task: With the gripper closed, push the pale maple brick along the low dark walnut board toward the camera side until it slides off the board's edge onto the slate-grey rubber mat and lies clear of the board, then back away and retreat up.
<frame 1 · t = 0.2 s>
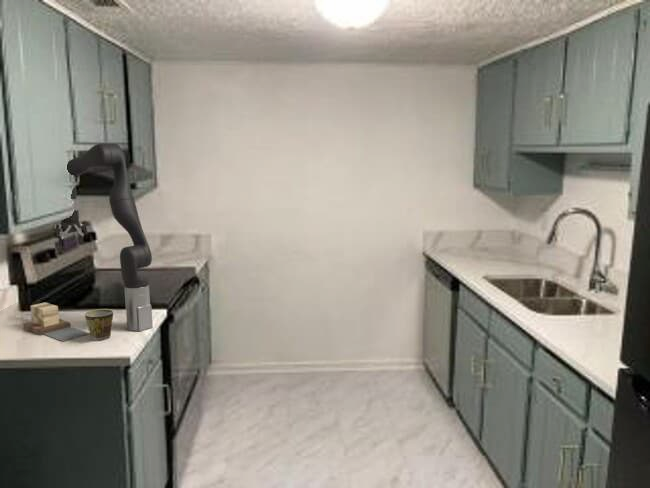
hand: (71, 246, 242), 29 cm above the worktop, fingers open, 8 cm apart
brown flat slab: (47, 327, 222), on the worktop
mat: (66, 334, 214), on the worktop
ceramic cup: (100, 339, 208), on the worktop
block: (45, 322, 222), point 2 cm above the worktop, touching brown flat slab
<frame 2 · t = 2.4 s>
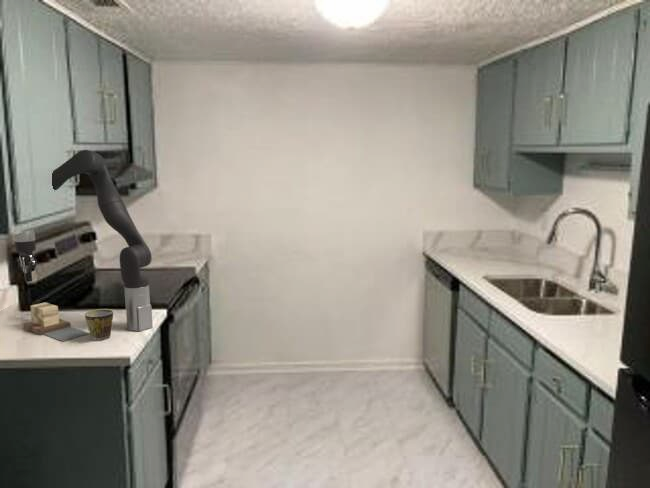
hand: (28, 281, 226), 18 cm above the worktop, fingers closed
nothing on the worktop moved.
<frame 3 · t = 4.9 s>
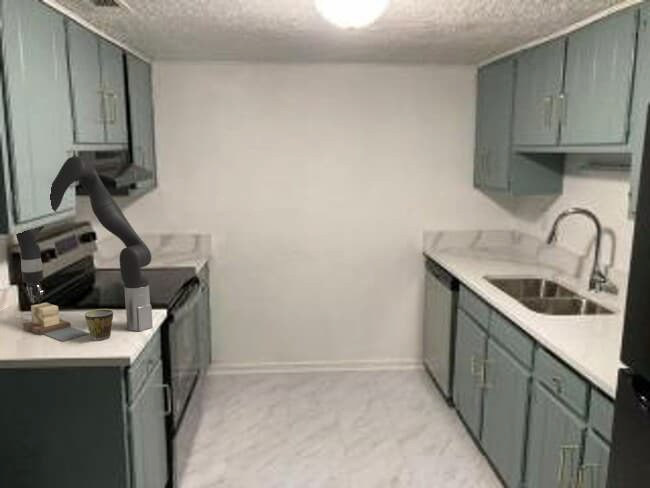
hand: (36, 310, 225), 6 cm above the worktop, fingers closed
block: (45, 322, 222), point 2 cm above the worktop, touching brown flat slab, gripper
everything else where it was.
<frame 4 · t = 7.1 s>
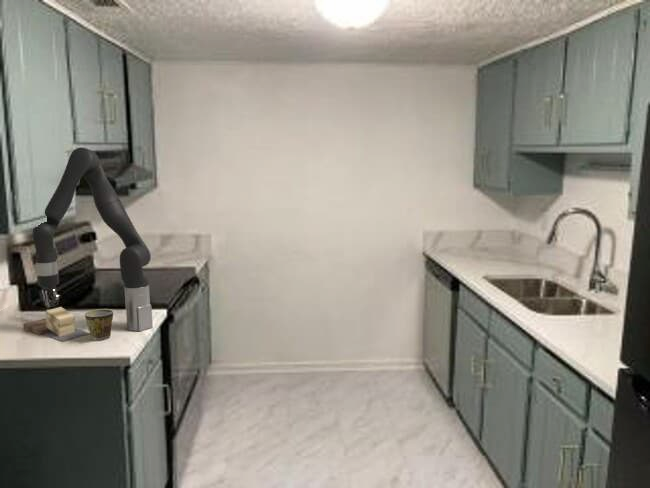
hand: (51, 315, 218), 6 cm above the worktop, fingers closed
block: (60, 329, 215), point 1 cm above the worktop, tilted 12°, touching gripper, mat
everything else where it was.
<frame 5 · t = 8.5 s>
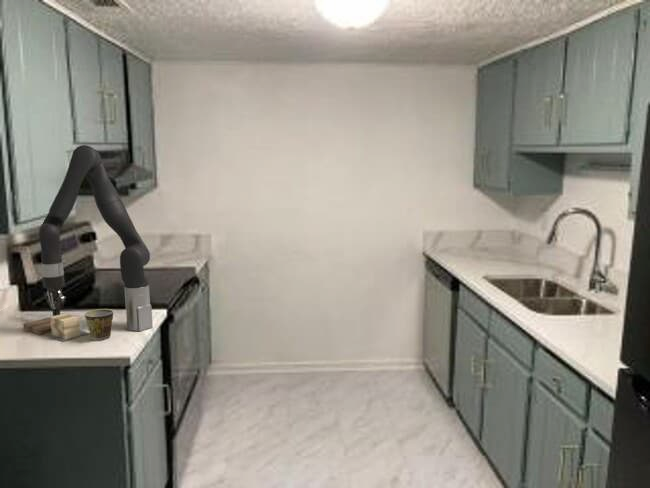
hand: (56, 317, 215), 6 cm above the worktop, fingers closed
block: (65, 334, 212), resting on mat, touching gripper
everything else where it was.
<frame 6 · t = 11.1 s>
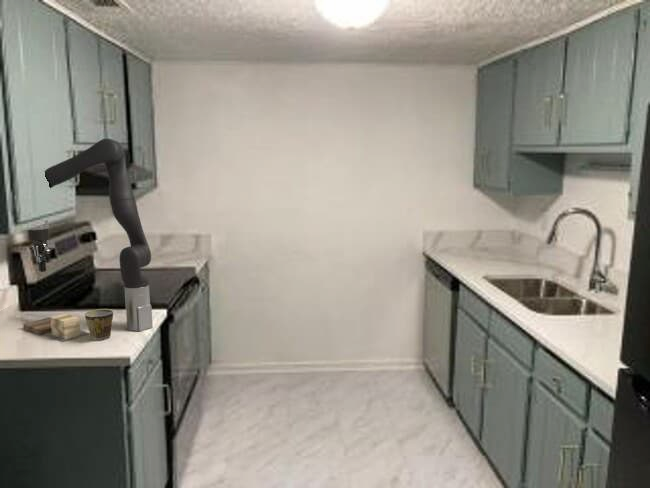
hand: (42, 271, 217), 23 cm above the worktop, fingers closed
block: (66, 334, 212), resting on mat
everything else where it was.
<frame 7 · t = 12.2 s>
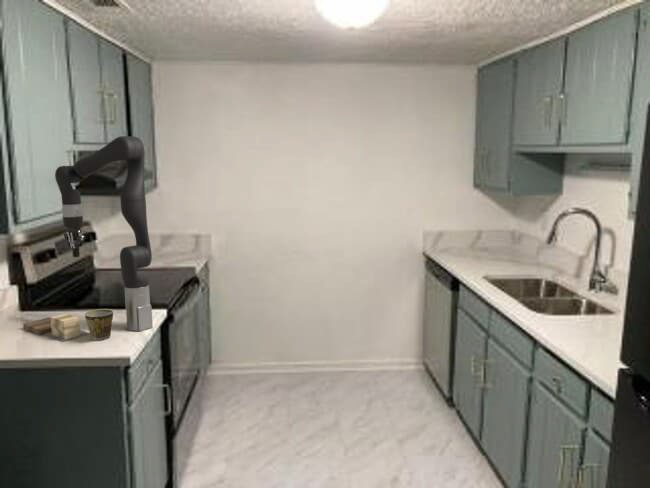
hand: (76, 256, 227), 27 cm above the worktop, fingers closed
nothing on the worktop moved.
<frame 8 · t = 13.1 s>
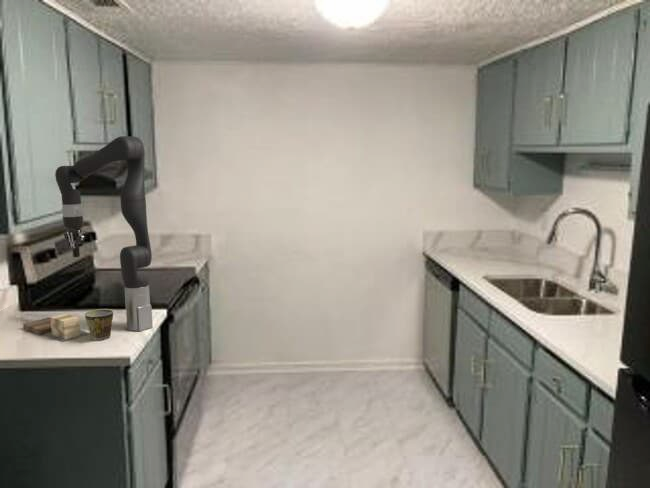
hand: (76, 256, 227), 27 cm above the worktop, fingers closed
nothing on the worktop moved.
at the end: block inside the target area on the mat (1.8 cm from its centre), point 0.3 cm above the mat's base; block touching mat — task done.
